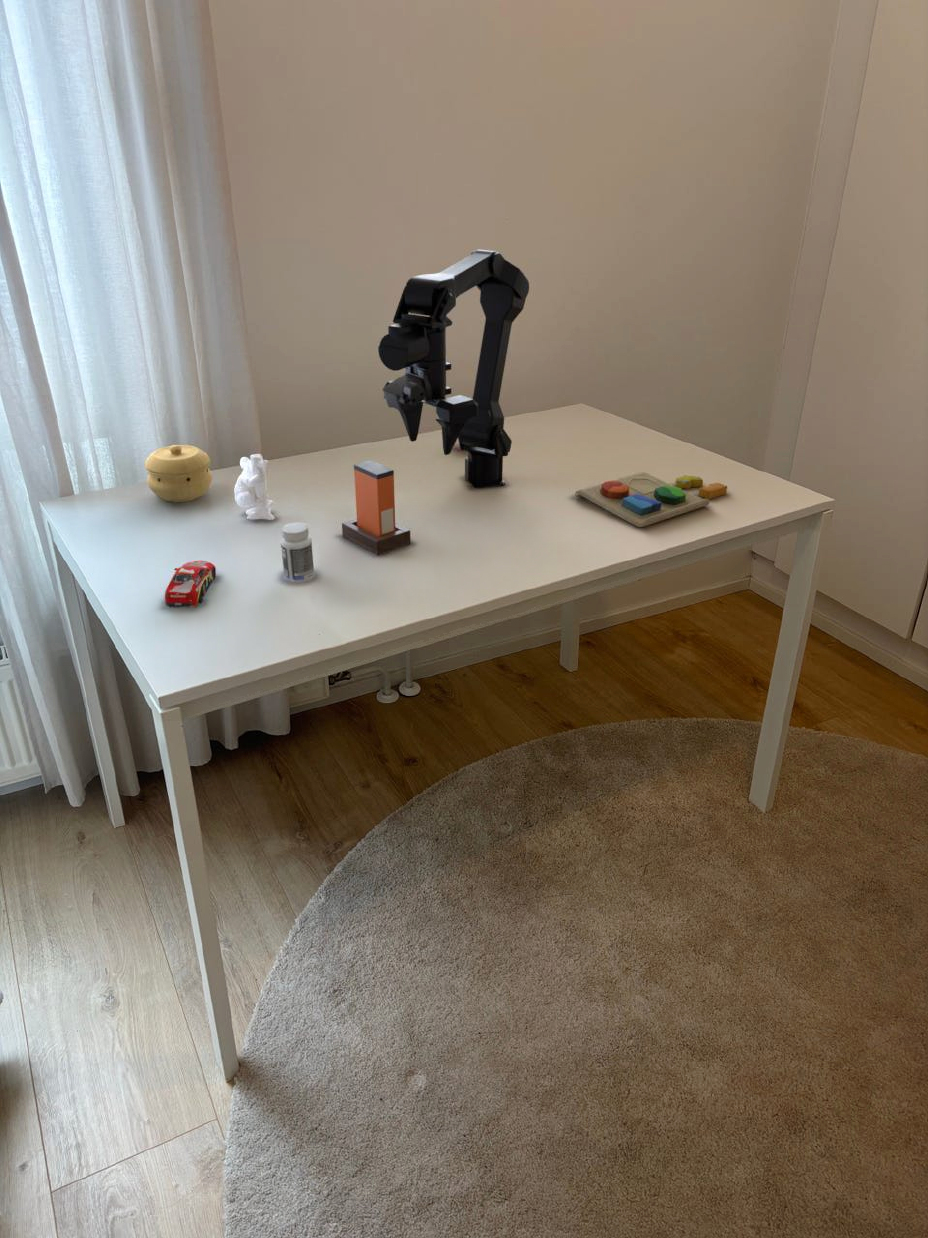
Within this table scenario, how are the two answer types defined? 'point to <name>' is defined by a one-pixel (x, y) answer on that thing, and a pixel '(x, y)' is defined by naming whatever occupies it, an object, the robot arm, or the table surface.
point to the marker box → (375, 498)
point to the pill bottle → (297, 553)
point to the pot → (178, 473)
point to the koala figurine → (253, 488)
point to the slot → (374, 542)
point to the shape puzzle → (650, 497)
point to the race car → (190, 584)
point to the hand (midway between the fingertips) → (429, 447)
